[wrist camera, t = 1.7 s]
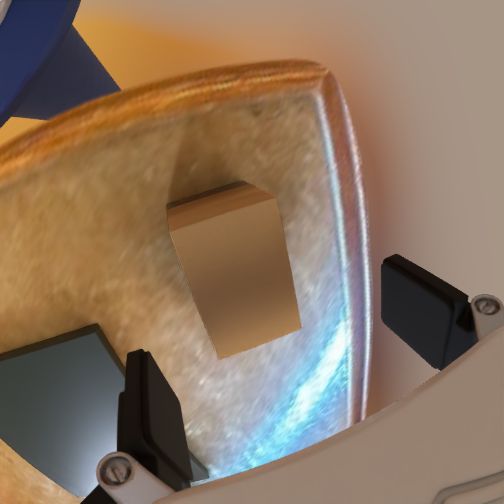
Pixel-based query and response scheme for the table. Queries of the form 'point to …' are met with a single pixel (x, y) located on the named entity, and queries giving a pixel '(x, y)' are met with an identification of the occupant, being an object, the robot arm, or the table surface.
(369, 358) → the table surface
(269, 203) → the eraser
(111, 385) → the chalkboard
